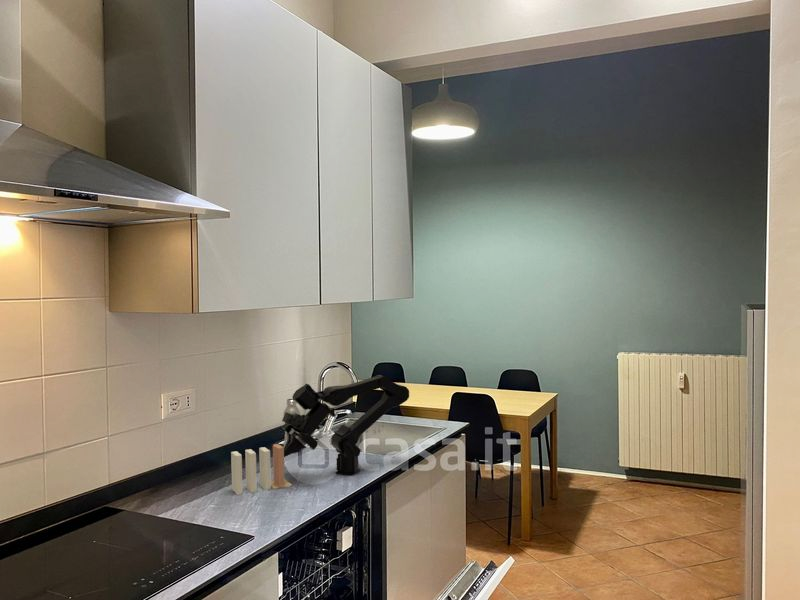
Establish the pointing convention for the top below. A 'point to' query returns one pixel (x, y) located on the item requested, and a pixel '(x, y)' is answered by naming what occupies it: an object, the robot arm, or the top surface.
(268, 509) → the top surface
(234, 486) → the ivory domino
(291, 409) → the plastic bottle
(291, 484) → the birch pad
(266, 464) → the ivory domino
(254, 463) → the ivory domino
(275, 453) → the terracotta domino
